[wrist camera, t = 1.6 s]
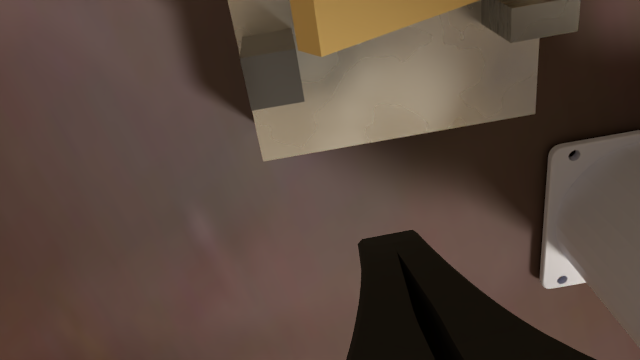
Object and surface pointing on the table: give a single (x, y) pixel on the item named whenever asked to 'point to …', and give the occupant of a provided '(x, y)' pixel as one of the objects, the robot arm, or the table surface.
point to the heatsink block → (408, 74)
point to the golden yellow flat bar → (358, 20)
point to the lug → (271, 69)
